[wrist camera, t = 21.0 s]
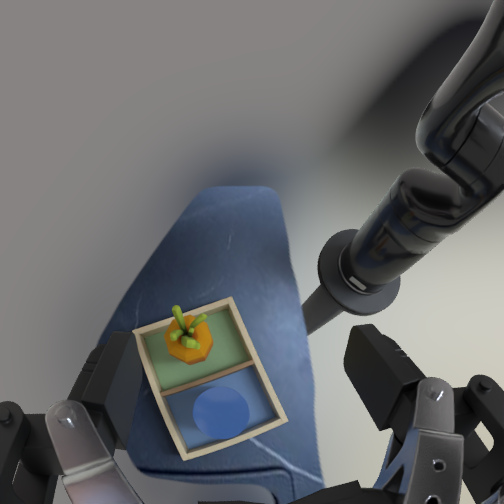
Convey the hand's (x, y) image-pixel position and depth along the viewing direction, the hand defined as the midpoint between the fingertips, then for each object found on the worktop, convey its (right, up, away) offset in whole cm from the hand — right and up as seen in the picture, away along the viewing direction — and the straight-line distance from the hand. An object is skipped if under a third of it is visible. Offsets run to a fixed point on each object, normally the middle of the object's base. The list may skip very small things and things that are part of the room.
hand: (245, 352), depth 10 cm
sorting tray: (-6, -13, +25) cm, 29 cm away
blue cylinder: (-4, -16, +23) cm, 28 cm away
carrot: (-7, -10, +26) cm, 29 cm away
